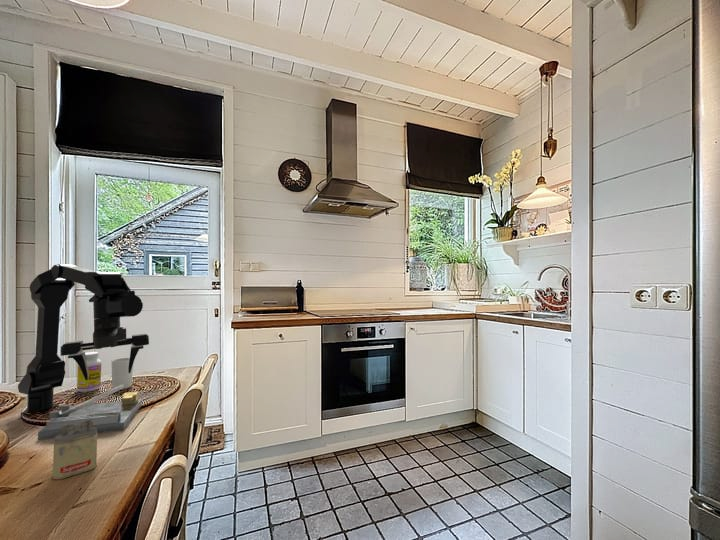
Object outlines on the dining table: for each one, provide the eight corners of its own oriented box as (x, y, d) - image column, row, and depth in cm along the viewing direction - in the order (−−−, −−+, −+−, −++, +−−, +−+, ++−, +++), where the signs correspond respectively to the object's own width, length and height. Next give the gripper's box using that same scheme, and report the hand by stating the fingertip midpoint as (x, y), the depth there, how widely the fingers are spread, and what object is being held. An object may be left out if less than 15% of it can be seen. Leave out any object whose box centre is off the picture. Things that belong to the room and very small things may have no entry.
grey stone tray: (71, 412, 101) (71, 395, 101) (141, 405, 107) (142, 389, 107) (37, 440, 84) (38, 419, 84) (123, 430, 90) (124, 410, 90)
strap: (55, 420, 89) (53, 417, 89) (61, 416, 92) (59, 413, 92) (121, 389, 95) (119, 386, 94) (124, 386, 97) (123, 383, 97)
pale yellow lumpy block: (124, 401, 104) (125, 392, 105) (138, 400, 106) (138, 391, 106) (118, 408, 99) (119, 398, 99) (133, 406, 101) (133, 397, 101)
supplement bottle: (87, 393, 117) (88, 355, 118) (71, 391, 119) (72, 354, 119) (105, 387, 124) (106, 351, 124) (90, 385, 125) (91, 350, 125)
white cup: (136, 386, 126) (137, 358, 126) (115, 390, 120) (116, 362, 120) (127, 382, 129) (128, 356, 129) (107, 387, 124) (108, 359, 124)
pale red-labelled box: (52, 482, 67) (54, 431, 67) (51, 474, 70) (53, 424, 70) (97, 468, 72) (99, 420, 72) (95, 461, 75) (96, 415, 75)
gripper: (55, 323, 80) (57, 390, 80) (148, 315, 91) (150, 374, 90) (63, 321, 90) (65, 381, 89) (147, 314, 100) (149, 368, 99)
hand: (108, 376), depth 91 cm, fingers open, 9 cm apart
